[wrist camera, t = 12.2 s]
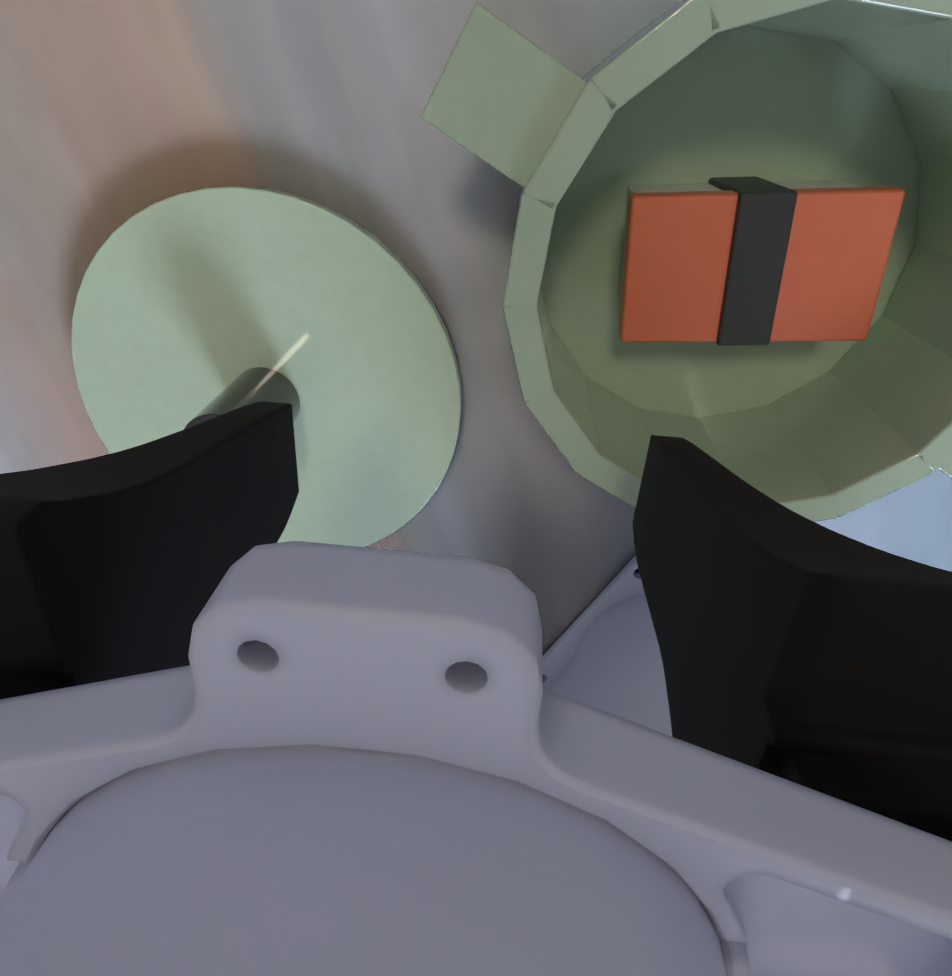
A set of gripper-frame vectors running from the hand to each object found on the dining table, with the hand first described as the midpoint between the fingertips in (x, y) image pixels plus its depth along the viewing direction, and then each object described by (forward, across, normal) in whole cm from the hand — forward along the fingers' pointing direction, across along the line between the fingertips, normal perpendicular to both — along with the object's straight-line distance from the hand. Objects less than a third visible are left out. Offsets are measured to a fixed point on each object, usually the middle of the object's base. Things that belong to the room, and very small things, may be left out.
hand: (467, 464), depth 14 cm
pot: (+10, -7, -3) cm, 13 cm away
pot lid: (+10, +8, +3) cm, 13 cm away
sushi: (+10, -7, -3) cm, 12 cm away
